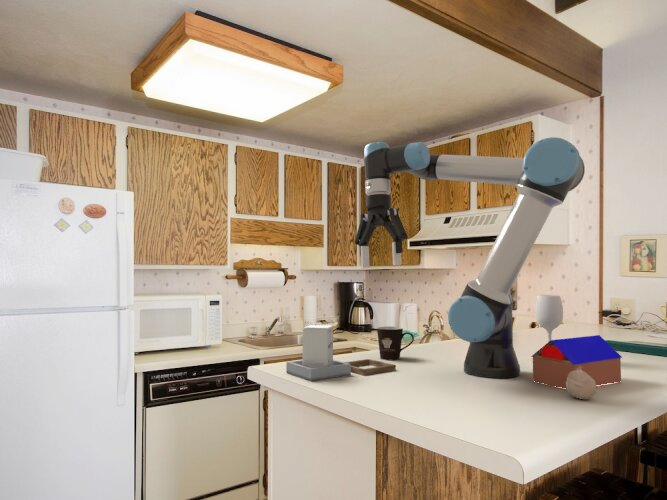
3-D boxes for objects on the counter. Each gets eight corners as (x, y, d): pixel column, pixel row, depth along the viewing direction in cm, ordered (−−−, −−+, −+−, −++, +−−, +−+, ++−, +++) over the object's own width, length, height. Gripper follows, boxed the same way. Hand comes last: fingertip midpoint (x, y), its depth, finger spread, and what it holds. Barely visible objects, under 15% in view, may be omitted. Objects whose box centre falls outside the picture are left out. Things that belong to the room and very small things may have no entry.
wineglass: (570, 363, 146) (568, 295, 147) (542, 363, 146) (540, 295, 147) (557, 358, 155) (556, 294, 156) (531, 358, 155) (529, 294, 156)
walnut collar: (395, 370, 137) (395, 365, 137) (363, 375, 130) (363, 369, 130) (369, 363, 146) (369, 358, 146) (338, 368, 140) (338, 363, 140)
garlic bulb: (559, 397, 107) (558, 361, 107) (576, 393, 110) (575, 359, 110) (587, 404, 101) (586, 366, 102) (604, 400, 104) (603, 363, 105)
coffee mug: (371, 358, 156) (371, 327, 157) (388, 355, 162) (388, 325, 162) (398, 363, 148) (398, 330, 148) (415, 359, 153) (415, 328, 154)
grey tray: (350, 374, 130) (350, 364, 130) (310, 381, 123) (310, 369, 123) (324, 367, 141) (324, 357, 141) (286, 372, 133) (286, 361, 134)
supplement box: (327, 375, 127) (327, 328, 128) (301, 373, 129) (301, 327, 130) (333, 369, 135) (333, 325, 135) (308, 368, 136) (308, 324, 137)
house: (623, 383, 121) (621, 337, 122) (574, 393, 112) (573, 343, 112) (579, 374, 132) (578, 332, 132) (531, 382, 122) (530, 337, 123)
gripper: (342, 200, 148) (344, 268, 147) (399, 186, 129) (402, 264, 127) (360, 202, 153) (362, 268, 151) (418, 189, 133) (421, 264, 132)
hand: (380, 266), depth 139 cm, fingers open, 13 cm apart
